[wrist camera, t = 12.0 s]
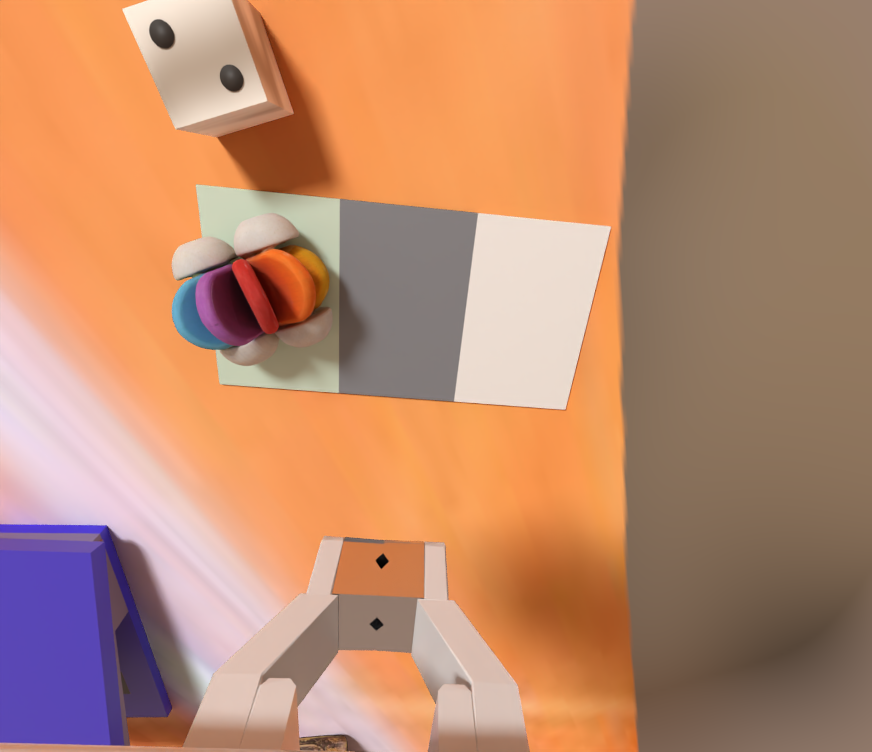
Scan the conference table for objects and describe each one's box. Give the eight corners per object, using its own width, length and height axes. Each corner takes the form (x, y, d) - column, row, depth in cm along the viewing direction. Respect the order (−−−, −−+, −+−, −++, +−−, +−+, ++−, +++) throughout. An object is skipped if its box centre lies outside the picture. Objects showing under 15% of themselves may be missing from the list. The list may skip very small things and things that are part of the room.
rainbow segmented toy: (355, 320, 31) (337, 358, 25) (235, 360, 32) (187, 407, 26) (304, 200, 28) (267, 207, 21) (171, 250, 29) (97, 271, 22)
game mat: (197, 184, 28) (195, 184, 27) (609, 226, 29) (611, 226, 29) (220, 382, 33) (219, 384, 33) (564, 408, 35) (565, 409, 35)
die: (177, 40, 25) (121, 8, 20) (260, 13, 24) (222, -26, 20) (217, 137, 27) (174, 128, 22) (294, 114, 26) (267, 100, 22)
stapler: (80, 705, 50) (5, 819, 41) (-15, 516, 39) (-147, 618, 30) (182, 704, 51) (130, 817, 42) (118, 517, 39) (28, 618, 30)
